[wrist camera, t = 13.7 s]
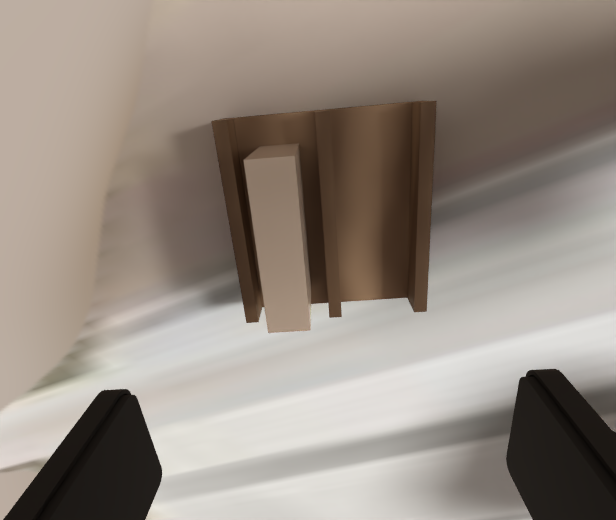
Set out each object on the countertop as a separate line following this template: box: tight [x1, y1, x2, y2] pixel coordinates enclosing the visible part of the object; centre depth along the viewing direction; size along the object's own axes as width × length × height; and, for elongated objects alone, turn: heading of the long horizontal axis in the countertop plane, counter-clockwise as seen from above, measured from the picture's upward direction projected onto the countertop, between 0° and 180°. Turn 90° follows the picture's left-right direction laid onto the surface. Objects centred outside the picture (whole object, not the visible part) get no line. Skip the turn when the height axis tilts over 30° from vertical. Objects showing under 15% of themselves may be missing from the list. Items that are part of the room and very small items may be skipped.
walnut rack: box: [212, 101, 436, 323], centre depth 30 cm, size 15×16×4 cm
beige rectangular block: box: [244, 143, 311, 333], centre depth 27 cm, size 3×12×7 cm, turn 4°
